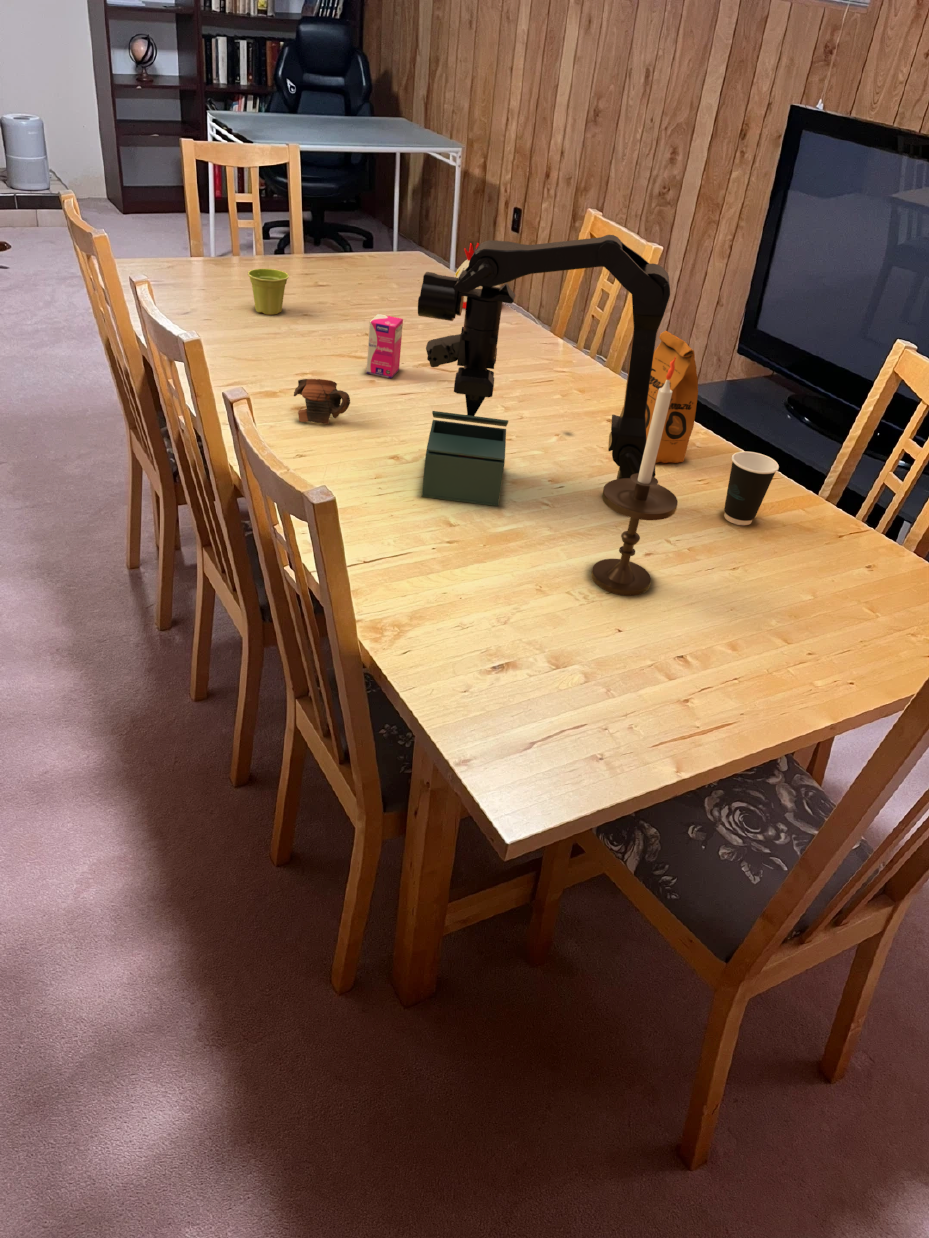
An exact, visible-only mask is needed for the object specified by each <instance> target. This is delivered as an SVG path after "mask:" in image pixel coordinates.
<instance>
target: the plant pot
mask: <svg viewBox="0 0 929 1238" xmlns="http://www.w3.org/2000/svg"><path fill="white" fill-rule="evenodd" d="M247 276H248V277H249V281H250V284H251V289H252V295H253V302H254V309H255V312H257V313H263V314H264V315H278V314H279V313H282V311H283V304H284V295H285V289H286V284H287V282H288V279H289V278H290V275H289V273H287V272H285V271H283V270H279V269H274V268H254V269H251V270H248V271H247Z"/></svg>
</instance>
